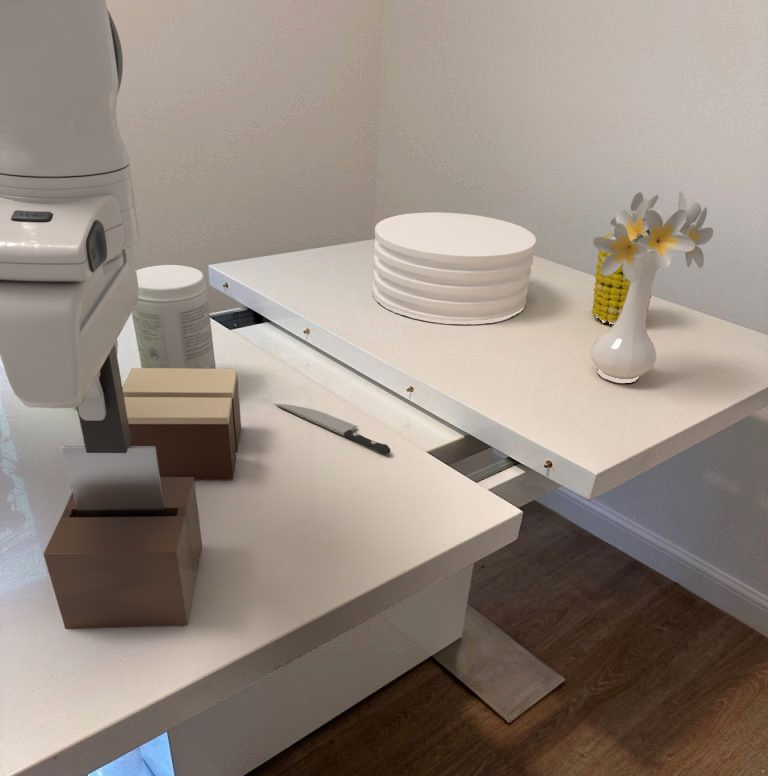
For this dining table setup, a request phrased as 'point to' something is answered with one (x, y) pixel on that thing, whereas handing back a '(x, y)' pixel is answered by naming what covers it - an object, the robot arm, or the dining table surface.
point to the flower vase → (643, 276)
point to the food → (610, 291)
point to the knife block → (128, 563)
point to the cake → (186, 386)
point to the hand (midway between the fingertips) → (100, 405)
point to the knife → (113, 461)
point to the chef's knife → (334, 425)
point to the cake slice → (186, 434)
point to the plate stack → (452, 265)
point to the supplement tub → (173, 318)
